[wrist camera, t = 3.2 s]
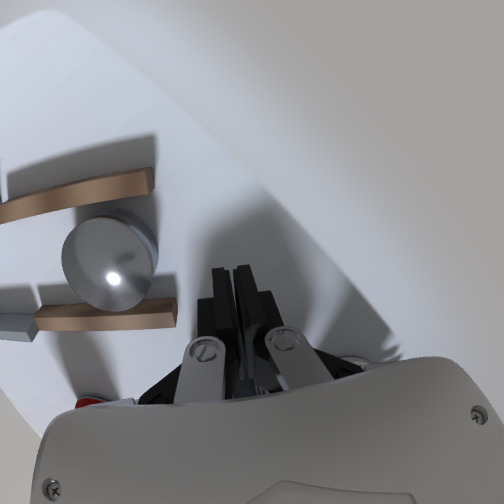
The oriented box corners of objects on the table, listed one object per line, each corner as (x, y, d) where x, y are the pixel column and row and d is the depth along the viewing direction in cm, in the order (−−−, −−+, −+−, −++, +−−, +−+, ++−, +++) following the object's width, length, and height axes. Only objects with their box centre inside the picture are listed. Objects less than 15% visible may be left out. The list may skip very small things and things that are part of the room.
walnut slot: (151, 166, 17) (145, 171, 16) (177, 312, 22) (175, 327, 21) (7, 200, 16) (-6, 207, 14) (47, 318, 21) (39, 330, 19)
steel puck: (147, 200, 18) (135, 211, 16) (167, 285, 21) (161, 307, 19) (68, 217, 18) (49, 230, 15) (93, 294, 21) (81, 314, 18)
